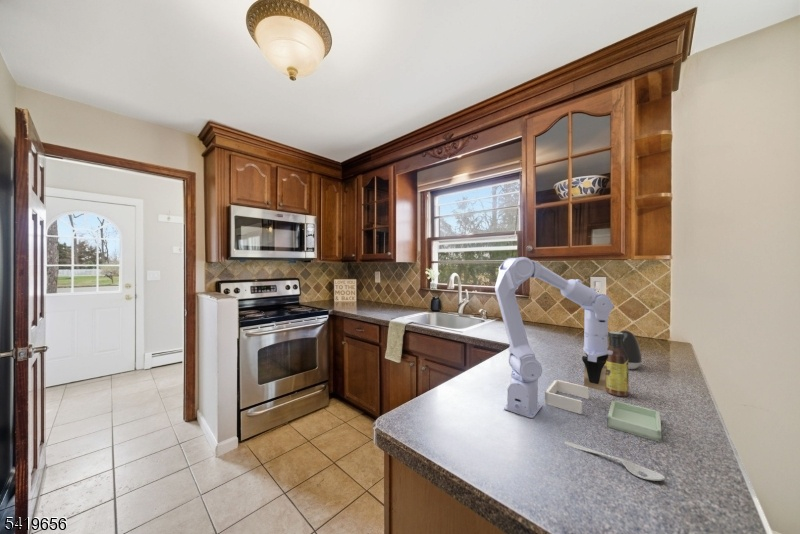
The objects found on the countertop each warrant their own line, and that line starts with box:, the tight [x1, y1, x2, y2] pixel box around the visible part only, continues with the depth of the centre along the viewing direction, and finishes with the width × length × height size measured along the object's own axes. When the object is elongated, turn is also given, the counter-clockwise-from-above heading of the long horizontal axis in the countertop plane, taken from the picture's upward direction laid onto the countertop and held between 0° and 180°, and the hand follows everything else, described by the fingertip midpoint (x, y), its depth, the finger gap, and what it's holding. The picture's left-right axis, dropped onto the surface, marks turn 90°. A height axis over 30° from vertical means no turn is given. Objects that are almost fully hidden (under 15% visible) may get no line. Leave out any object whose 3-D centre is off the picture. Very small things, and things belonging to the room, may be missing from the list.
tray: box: [607, 399, 662, 443], centre depth 77 cm, size 13×10×2 cm
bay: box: [544, 379, 590, 415], centre depth 90 cm, size 13×10×4 cm
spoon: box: [563, 440, 666, 482], centre depth 64 cm, size 4×21×2 cm, turn 42°
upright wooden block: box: [583, 365, 611, 392], centre depth 85 cm, size 4×6×6 cm
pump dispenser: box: [619, 330, 643, 370], centre depth 120 cm, size 10×10×15 cm
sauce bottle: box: [605, 331, 630, 397], centre depth 96 cm, size 7×6×20 cm
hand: (595, 380), depth 85 cm, fingers closed on upright wooden block, 4 cm apart
